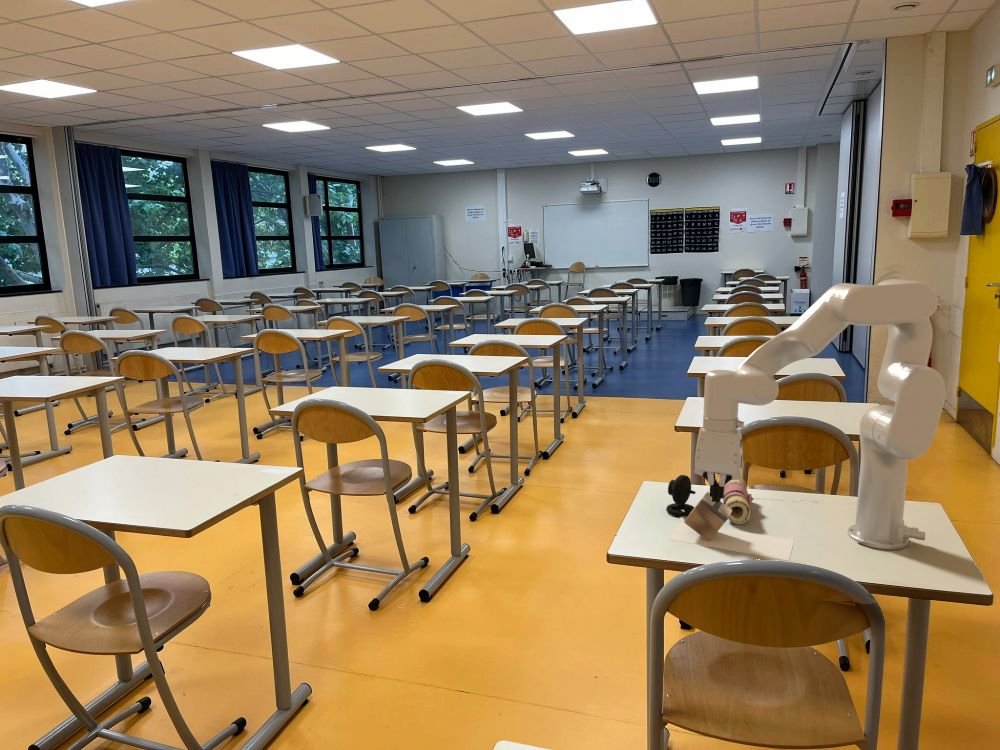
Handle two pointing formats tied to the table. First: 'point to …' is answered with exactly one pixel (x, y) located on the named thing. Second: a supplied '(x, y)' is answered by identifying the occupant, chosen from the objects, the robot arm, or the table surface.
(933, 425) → the robot arm
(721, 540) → the mat
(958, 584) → the table surface
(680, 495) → the webcam
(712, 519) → the block
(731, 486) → the scroll
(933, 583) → the table surface
